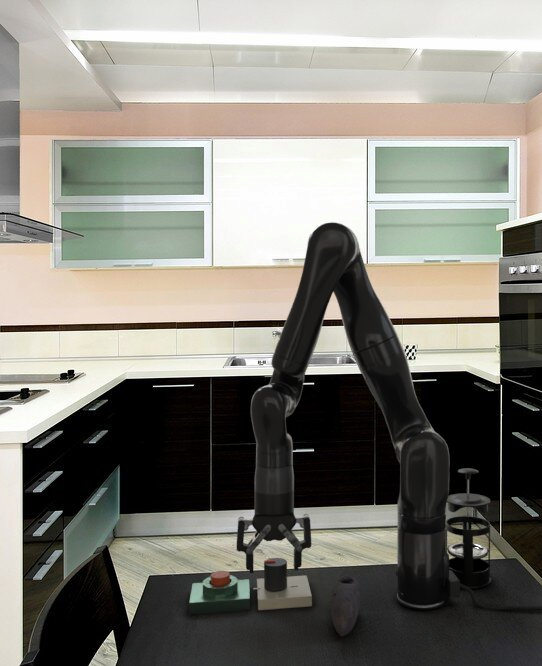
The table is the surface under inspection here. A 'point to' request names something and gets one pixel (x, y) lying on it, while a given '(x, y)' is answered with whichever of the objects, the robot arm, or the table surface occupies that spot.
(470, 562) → the french press
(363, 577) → the table surface
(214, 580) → the button
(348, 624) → the perforated stone tool
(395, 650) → the table surface
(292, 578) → the control panel
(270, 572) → the dial
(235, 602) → the button box
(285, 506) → the robot arm
